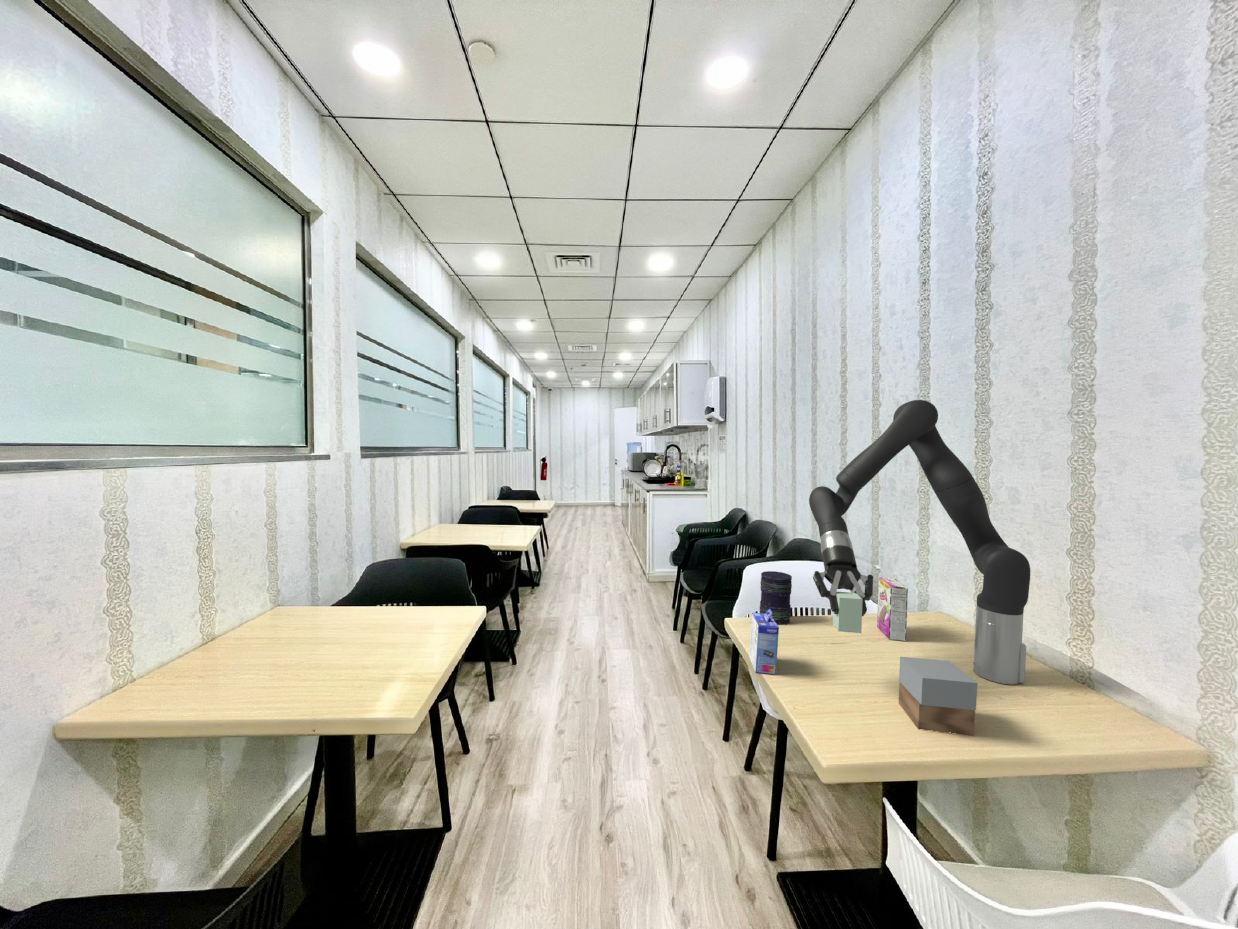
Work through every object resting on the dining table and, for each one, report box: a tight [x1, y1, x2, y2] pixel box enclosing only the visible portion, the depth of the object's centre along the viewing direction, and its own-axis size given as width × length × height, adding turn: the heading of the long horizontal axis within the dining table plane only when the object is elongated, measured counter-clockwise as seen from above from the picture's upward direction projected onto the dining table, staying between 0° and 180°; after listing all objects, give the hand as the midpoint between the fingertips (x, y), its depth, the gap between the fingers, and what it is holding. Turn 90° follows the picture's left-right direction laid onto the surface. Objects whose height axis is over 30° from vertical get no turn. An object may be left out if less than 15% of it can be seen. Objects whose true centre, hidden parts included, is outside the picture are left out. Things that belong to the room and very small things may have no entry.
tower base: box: [897, 680, 976, 737], centre depth 98 cm, size 10×10×6 cm
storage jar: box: [759, 570, 793, 626], centre depth 155 cm, size 10×10×15 cm
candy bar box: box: [876, 576, 909, 642], centre depth 145 cm, size 11×5×16 cm, turn 168°
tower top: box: [898, 656, 978, 711], centre depth 98 cm, size 10×10×6 cm
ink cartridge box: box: [748, 609, 780, 675], centre depth 121 cm, size 10×6×14 cm, turn 174°
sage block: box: [832, 591, 863, 634], centre depth 111 cm, size 5×5×8 cm
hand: (849, 613), depth 109 cm, fingers closed on sage block, 5 cm apart
